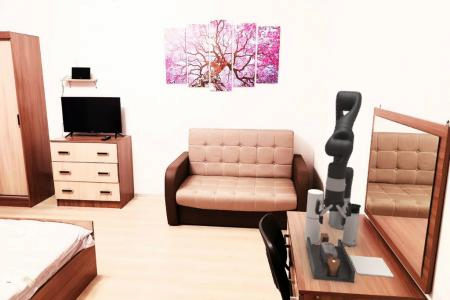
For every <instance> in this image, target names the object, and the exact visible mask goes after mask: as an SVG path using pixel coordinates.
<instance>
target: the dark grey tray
mask: <svg viewBox="0 0 450 300" xmlns="http://www.w3.org/2000/svg"><path fill="white" fill-rule="evenodd" d="M329 239H330V237H329V235H328V233H326V232H325V233H324V232H320V240H319V244H318V243H311V241H310V237H307V242H306V241H305V242H306V246H305V248H306V252H307V256H308V259H309V260H308V261H309V265H310V269H311V273H312V278H313V280H321V281H333V282H342V283H343V282H344V283H355V277H356V270H355V268H354V266H353V264H352V262H351V259H350V257H349V255H348V252H347V249H346V248H345V245H344V244H343V243H342V240H341V238H339V239H337V244H336V245H334V247H335V249H336V252H337V258H336V257H329V258H328V262H324V260H323V256H322V253H321V243H324V242H329Z"/></svg>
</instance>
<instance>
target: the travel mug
mask: <svg viewBox="0 0 450 300" xmlns="http://www.w3.org/2000/svg"><path fill="white" fill-rule="evenodd" d="M351 204H352V206H351V216H350V217H349V216H348V217H346V223H345V225H344V229H342V230H343V233H342V240H341V241H342V243H343V245H344V246H347V247H355V246H356V245H357V238H358V229H359V222H360V221H359V220H360V213H361V212H360V210H361V208H362V205H361V204H358V203H351ZM345 213H347V207H346V212H345Z"/></svg>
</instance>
